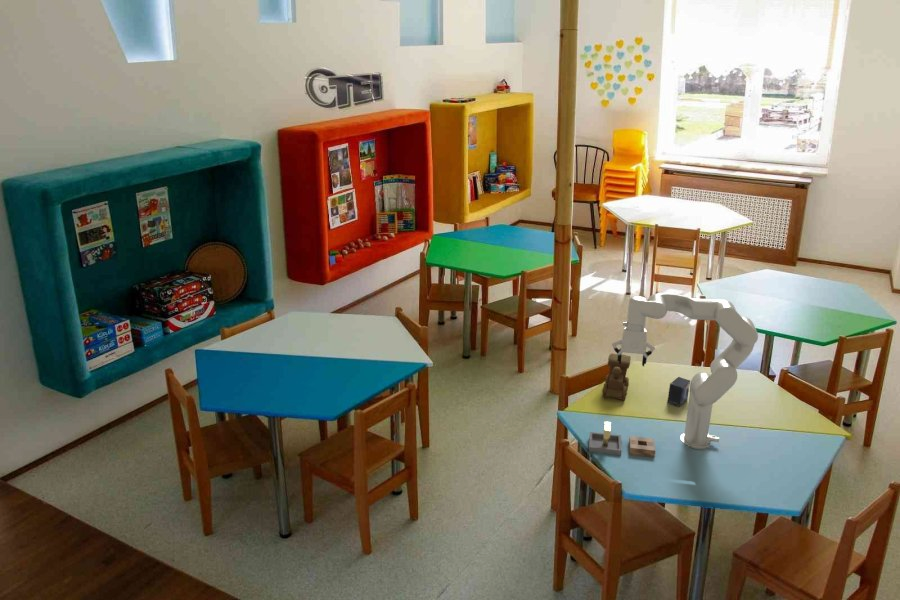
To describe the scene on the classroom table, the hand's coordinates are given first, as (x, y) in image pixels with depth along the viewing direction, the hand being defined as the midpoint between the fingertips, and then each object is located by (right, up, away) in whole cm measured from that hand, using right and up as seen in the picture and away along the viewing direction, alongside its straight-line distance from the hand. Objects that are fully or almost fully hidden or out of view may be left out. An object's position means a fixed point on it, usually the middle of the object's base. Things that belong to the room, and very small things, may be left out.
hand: (631, 363), depth 327 cm
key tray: (-11, -35, 0) cm, 37 cm away
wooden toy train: (+4, -18, +49) cm, 52 cm away
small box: (+32, -22, +42) cm, 57 cm away
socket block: (+4, -36, -3) cm, 37 cm away
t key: (-11, -34, 0) cm, 36 cm away
